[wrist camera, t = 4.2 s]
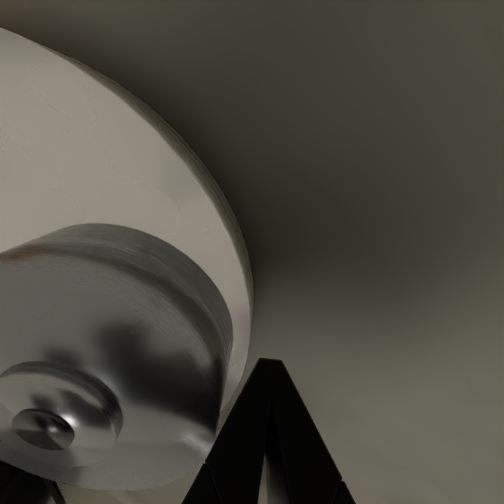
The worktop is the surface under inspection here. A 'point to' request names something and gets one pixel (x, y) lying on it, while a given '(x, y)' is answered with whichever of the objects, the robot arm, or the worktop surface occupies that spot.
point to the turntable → (111, 173)
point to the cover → (109, 358)
